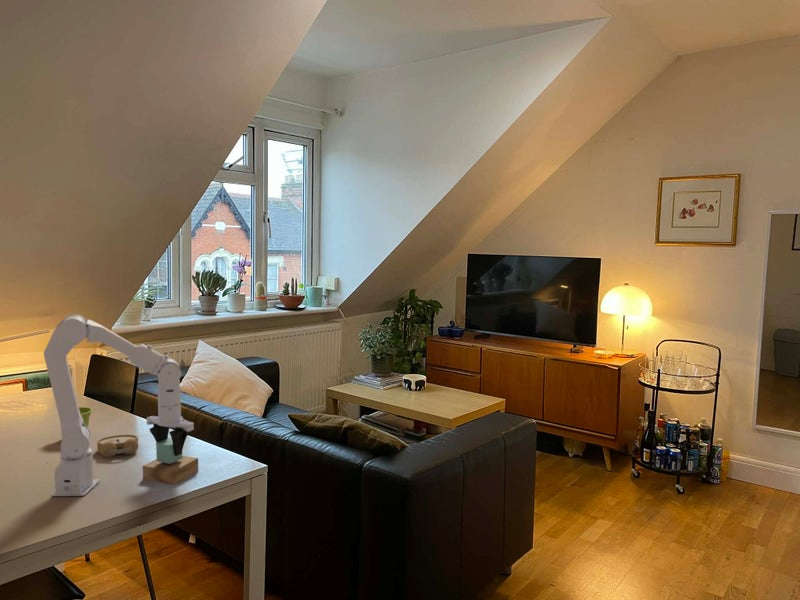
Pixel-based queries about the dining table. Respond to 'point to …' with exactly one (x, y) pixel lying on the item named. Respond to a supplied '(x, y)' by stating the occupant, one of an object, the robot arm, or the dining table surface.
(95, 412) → the dining table surface
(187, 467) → the walnut box
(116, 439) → the alarm clock
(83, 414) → the plant pot
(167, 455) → the teal block
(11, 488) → the dining table surface
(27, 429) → the dining table surface
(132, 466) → the dining table surface
